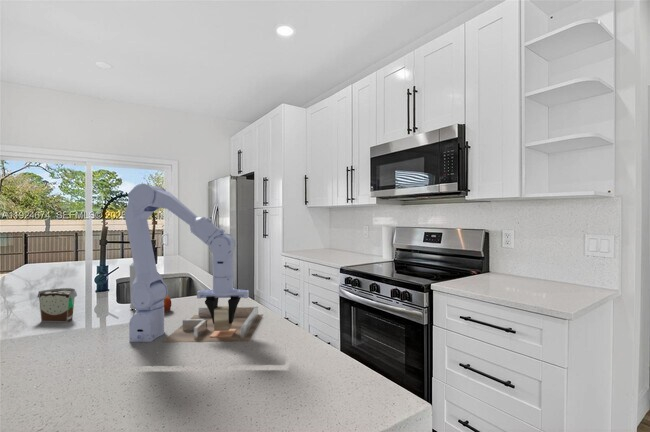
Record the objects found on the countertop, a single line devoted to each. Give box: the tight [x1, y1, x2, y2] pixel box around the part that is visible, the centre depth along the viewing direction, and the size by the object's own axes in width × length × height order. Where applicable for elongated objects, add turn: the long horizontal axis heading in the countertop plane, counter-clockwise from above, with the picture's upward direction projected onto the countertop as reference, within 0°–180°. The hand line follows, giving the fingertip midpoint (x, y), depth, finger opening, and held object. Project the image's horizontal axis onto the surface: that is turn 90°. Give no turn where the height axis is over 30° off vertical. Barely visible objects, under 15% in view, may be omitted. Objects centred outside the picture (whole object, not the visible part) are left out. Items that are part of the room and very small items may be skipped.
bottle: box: [129, 262, 136, 310], centre depth 125 cm, size 5×5×25 cm
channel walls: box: [182, 306, 259, 339], centre depth 102 cm, size 21×20×3 cm
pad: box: [210, 329, 236, 337], centre depth 96 cm, size 6×6×1 cm
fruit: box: [164, 295, 172, 315], centre depth 117 cm, size 8×8×8 cm
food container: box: [36, 287, 78, 323], centre depth 113 cm, size 12×6×10 cm, turn 84°
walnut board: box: [161, 314, 264, 343], centre depth 102 cm, size 24×24×1 cm
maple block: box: [214, 305, 232, 331], centre depth 96 cm, size 4×4×6 cm
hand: (223, 322), depth 96 cm, fingers closed on maple block, 4 cm apart
